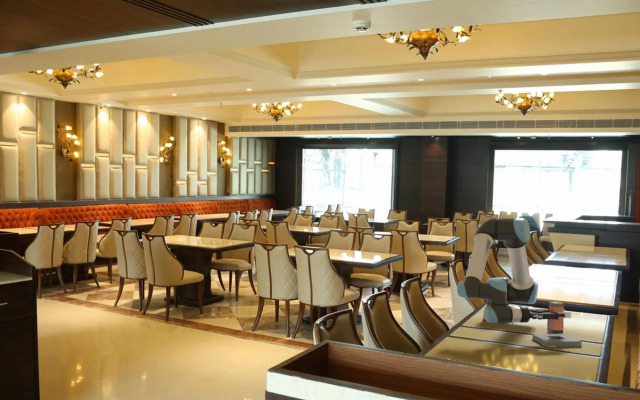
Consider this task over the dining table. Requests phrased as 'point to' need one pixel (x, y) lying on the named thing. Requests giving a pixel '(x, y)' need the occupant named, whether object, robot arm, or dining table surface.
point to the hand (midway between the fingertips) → (567, 313)
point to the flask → (550, 331)
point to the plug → (555, 323)
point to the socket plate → (557, 340)
